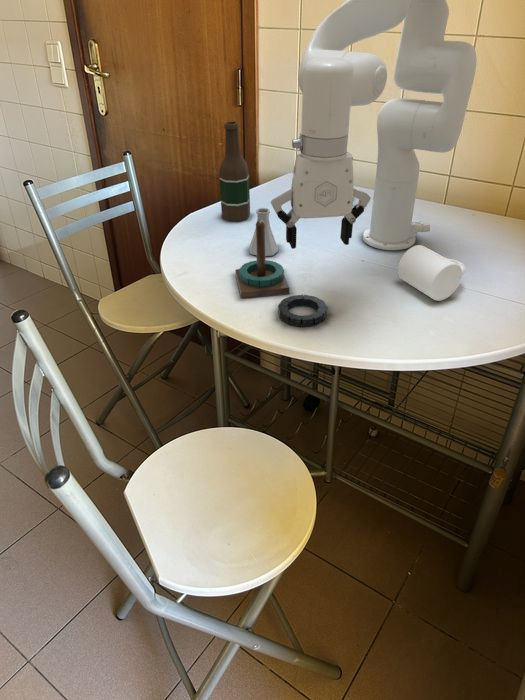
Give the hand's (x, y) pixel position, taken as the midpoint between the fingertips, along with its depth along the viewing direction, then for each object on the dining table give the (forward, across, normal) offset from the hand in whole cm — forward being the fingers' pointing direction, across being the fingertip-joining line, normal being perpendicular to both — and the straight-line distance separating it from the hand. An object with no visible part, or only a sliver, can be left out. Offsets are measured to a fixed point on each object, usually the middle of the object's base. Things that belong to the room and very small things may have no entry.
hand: (318, 243), depth 95 cm
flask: (+14, -6, +28) cm, 32 cm away
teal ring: (+12, -9, +13) cm, 20 cm away
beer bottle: (+14, -10, +50) cm, 53 cm away
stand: (+14, -9, +12) cm, 20 cm away
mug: (+14, +26, +4) cm, 30 cm away
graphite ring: (+14, -3, -1) cm, 14 cm away
